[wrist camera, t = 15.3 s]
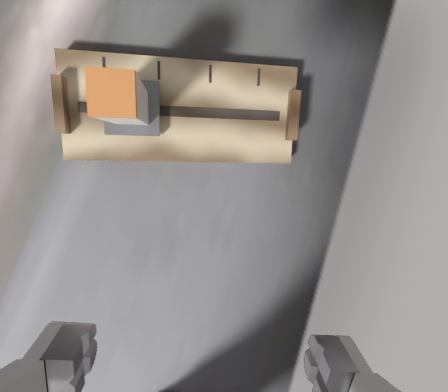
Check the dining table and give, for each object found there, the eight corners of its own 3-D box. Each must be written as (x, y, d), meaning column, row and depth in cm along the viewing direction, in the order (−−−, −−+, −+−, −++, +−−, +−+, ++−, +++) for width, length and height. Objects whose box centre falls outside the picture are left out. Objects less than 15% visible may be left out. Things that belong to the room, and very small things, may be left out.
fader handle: (160, 136, 33) (151, 133, 22) (107, 134, 32) (72, 131, 21) (159, 83, 32) (150, 53, 21) (104, 79, 31) (65, 47, 20)
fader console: (284, 162, 39) (295, 164, 35) (70, 158, 34) (58, 160, 30) (291, 71, 36) (303, 63, 33) (61, 53, 32) (47, 43, 28)
